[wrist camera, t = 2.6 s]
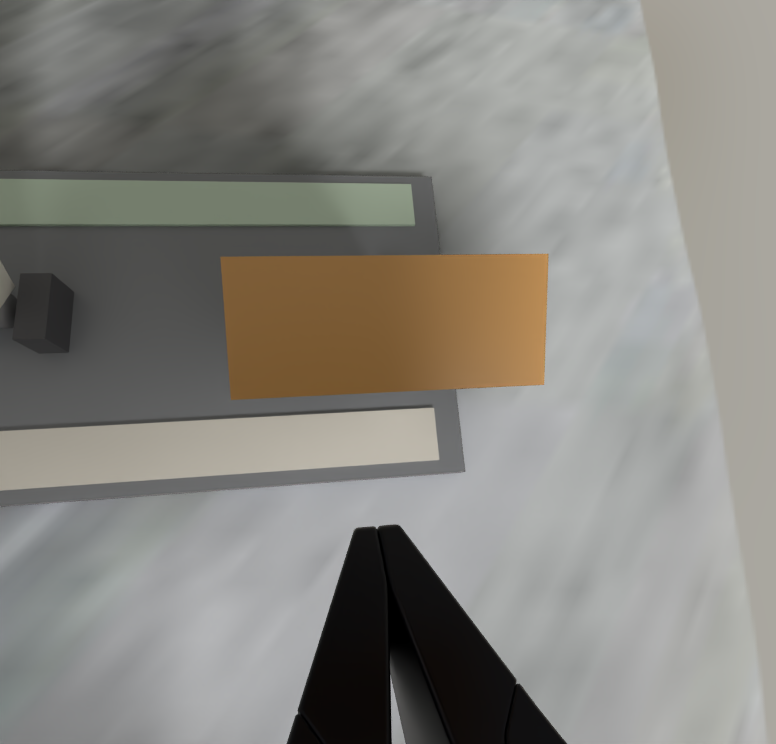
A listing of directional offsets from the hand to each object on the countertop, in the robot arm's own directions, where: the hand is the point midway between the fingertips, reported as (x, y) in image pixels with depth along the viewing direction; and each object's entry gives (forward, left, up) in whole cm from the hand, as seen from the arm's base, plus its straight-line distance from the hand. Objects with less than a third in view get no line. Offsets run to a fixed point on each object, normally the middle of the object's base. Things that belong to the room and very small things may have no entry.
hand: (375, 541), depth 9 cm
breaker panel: (+8, +7, -10) cm, 14 cm away
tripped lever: (+8, 0, -8) cm, 11 cm away
